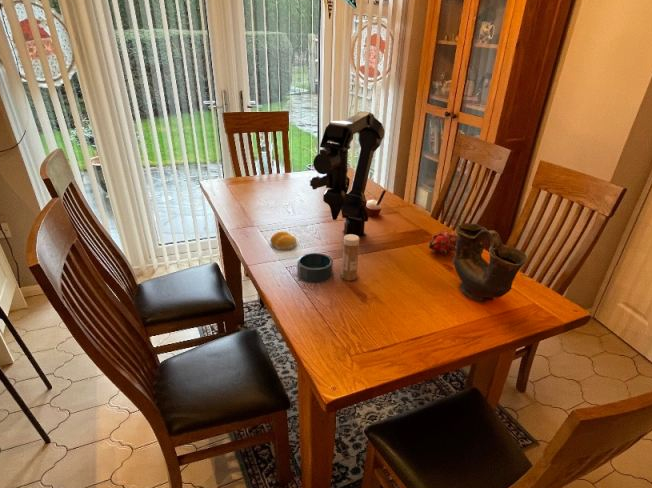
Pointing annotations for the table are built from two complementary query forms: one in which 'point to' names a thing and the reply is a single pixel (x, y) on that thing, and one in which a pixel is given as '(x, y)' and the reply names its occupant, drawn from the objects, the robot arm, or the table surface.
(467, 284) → the pottery vessel
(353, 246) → the spice jar
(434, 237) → the dragon fruit
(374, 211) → the cocoa
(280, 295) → the table surface
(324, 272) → the bowl
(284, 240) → the bread roll
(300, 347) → the table surface
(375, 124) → the robot arm
